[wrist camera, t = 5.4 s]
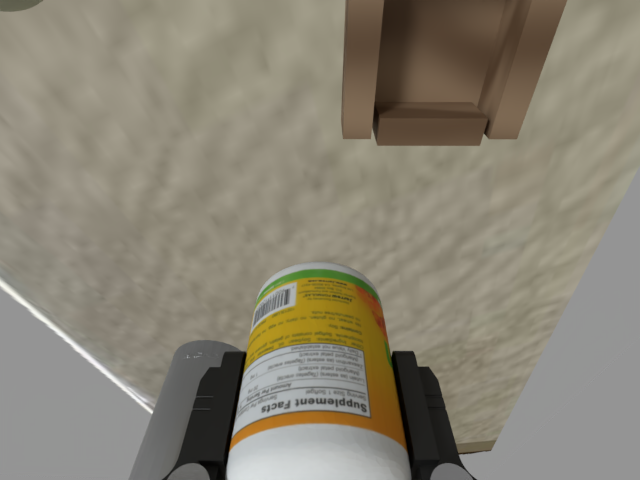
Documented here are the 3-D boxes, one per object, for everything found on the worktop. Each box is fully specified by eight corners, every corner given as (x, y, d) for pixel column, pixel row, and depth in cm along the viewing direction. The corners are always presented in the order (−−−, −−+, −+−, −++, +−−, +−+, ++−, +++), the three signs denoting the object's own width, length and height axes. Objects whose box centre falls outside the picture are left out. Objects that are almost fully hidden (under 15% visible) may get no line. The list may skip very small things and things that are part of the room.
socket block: (494, 125, 25) (514, 145, 23) (340, 125, 25) (342, 145, 23) (558, -81, 18) (598, -87, 16) (348, -81, 18) (352, -86, 16)
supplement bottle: (368, 343, 18) (405, 639, 10) (257, 336, 17) (209, 637, 10) (392, 261, 14) (475, 614, 7) (255, 251, 14) (179, 610, 6)
